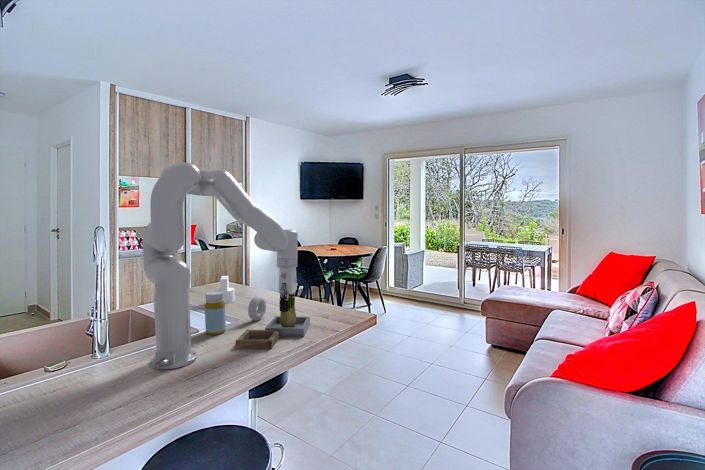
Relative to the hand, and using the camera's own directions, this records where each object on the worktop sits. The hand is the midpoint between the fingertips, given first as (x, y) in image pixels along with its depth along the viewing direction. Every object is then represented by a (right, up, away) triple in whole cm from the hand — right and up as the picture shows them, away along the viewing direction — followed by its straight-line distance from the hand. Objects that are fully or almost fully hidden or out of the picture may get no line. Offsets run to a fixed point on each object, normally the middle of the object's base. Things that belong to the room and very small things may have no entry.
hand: (287, 307), depth 137 cm
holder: (-8, -10, -12) cm, 17 cm away
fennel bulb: (0, -8, +1) cm, 8 cm away
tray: (0, -9, +1) cm, 9 cm away
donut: (-14, -8, +13) cm, 21 cm away
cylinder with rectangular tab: (-38, -6, +42) cm, 57 cm away
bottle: (-26, -9, -2) cm, 28 cm away
